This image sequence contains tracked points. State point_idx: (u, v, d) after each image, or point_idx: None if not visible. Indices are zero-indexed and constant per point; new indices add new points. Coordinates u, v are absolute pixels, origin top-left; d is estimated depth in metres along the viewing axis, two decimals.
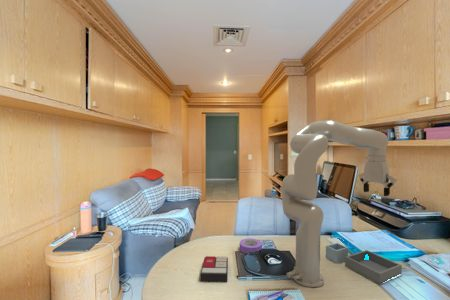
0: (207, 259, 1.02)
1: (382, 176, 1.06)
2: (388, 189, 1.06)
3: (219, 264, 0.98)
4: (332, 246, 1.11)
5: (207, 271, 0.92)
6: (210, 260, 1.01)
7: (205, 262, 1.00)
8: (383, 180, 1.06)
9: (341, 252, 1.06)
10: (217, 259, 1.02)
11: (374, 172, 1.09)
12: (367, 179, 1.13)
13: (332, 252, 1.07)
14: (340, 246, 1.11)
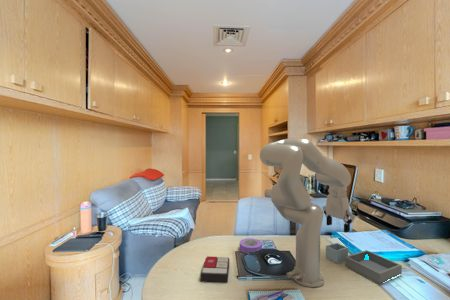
0: (208, 259, 1.02)
1: (342, 212, 1.04)
2: (348, 225, 1.04)
3: (220, 264, 0.97)
4: (332, 246, 1.12)
5: (207, 271, 0.92)
6: (211, 260, 1.01)
7: (206, 262, 0.99)
8: (343, 216, 1.04)
9: (341, 252, 1.06)
10: (218, 259, 1.02)
11: (335, 207, 1.07)
12: (329, 213, 1.10)
13: (332, 252, 1.07)
14: (340, 246, 1.11)
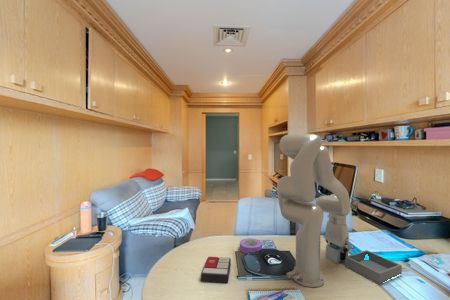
0: (209, 259, 1.02)
1: (341, 240, 1.04)
2: (344, 254, 1.05)
3: (221, 265, 0.97)
4: (332, 246, 1.12)
5: (208, 271, 0.92)
6: (212, 260, 1.01)
7: (207, 262, 0.99)
8: (342, 244, 1.04)
9: None
10: (219, 260, 1.02)
11: (334, 234, 1.07)
12: (328, 239, 1.10)
13: (332, 252, 1.07)
14: None
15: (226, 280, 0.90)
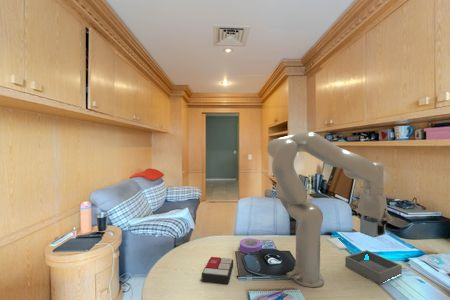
0: (212, 260, 1.02)
1: (379, 211, 0.93)
2: (382, 227, 0.95)
3: (222, 266, 0.97)
4: (367, 220, 1.01)
5: (208, 272, 0.92)
6: (214, 261, 1.01)
7: (209, 262, 0.99)
8: (380, 216, 0.93)
9: None
10: (222, 260, 1.01)
11: (370, 206, 0.96)
12: (362, 212, 1.00)
13: (368, 225, 0.96)
14: (375, 220, 1.01)
15: (226, 281, 0.89)
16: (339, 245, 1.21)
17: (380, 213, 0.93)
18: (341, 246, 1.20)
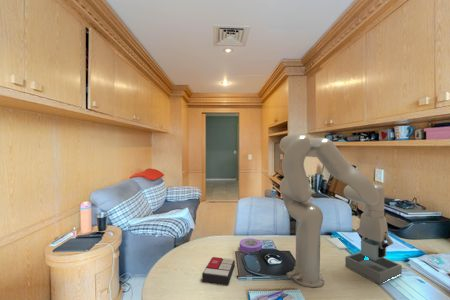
0: (213, 260, 1.02)
1: (380, 235, 0.93)
2: (383, 250, 0.95)
3: (223, 266, 0.96)
4: (367, 241, 1.01)
5: (209, 272, 0.92)
6: (215, 261, 1.00)
7: (210, 263, 0.99)
8: (381, 239, 0.93)
9: None
10: (223, 261, 1.01)
11: (371, 228, 0.97)
12: (363, 234, 1.00)
13: (369, 248, 0.96)
14: None
15: (226, 282, 0.89)
16: (339, 245, 1.21)
17: (381, 236, 0.93)
18: (341, 246, 1.20)
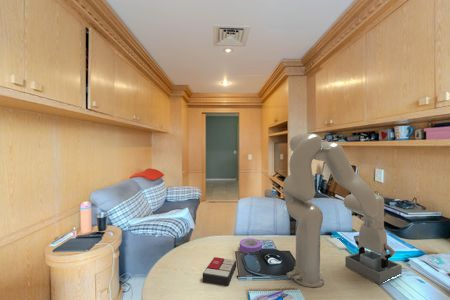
0: (214, 260, 1.01)
1: (379, 246, 0.93)
2: (386, 261, 0.93)
3: (224, 267, 0.96)
4: (366, 255, 1.01)
5: (209, 272, 0.92)
6: (217, 261, 1.00)
7: (211, 263, 0.99)
8: (380, 250, 0.93)
9: (378, 262, 0.96)
10: (224, 261, 1.00)
11: (370, 239, 0.97)
12: (363, 245, 1.00)
13: (368, 262, 0.96)
14: (375, 255, 1.01)
15: (227, 283, 0.88)
16: (339, 245, 1.21)
17: (380, 247, 0.93)
18: (341, 246, 1.20)
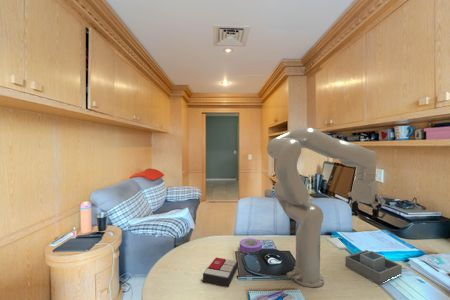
0: (216, 260, 1.01)
1: (370, 196, 0.98)
2: (377, 210, 0.98)
3: (225, 267, 0.95)
4: (366, 255, 1.01)
5: (210, 272, 0.91)
6: (218, 262, 1.00)
7: (212, 263, 0.99)
8: (371, 201, 0.98)
9: (378, 262, 0.96)
10: (225, 262, 1.00)
11: (362, 191, 1.01)
12: (355, 198, 1.04)
13: (368, 262, 0.96)
14: (375, 255, 1.01)
15: (227, 283, 0.88)
16: (339, 245, 1.21)
17: (371, 198, 0.98)
18: (341, 246, 1.20)
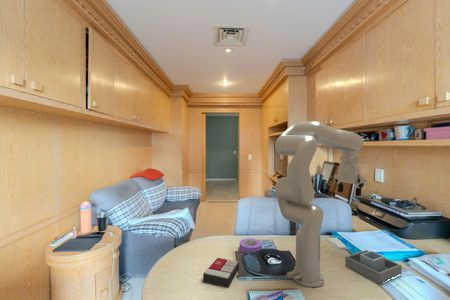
0: (217, 261, 1.01)
1: (354, 177, 1.10)
2: (359, 189, 1.10)
3: (225, 268, 0.95)
4: (366, 255, 1.01)
5: (210, 273, 0.91)
6: (219, 262, 0.99)
7: (213, 263, 0.98)
8: (355, 181, 1.10)
9: (378, 262, 0.96)
10: (227, 262, 1.00)
11: (347, 173, 1.13)
12: (341, 180, 1.16)
13: (368, 262, 0.96)
14: (375, 255, 1.01)
15: (227, 284, 0.87)
16: (338, 245, 1.21)
17: (354, 178, 1.10)
18: (341, 246, 1.20)
